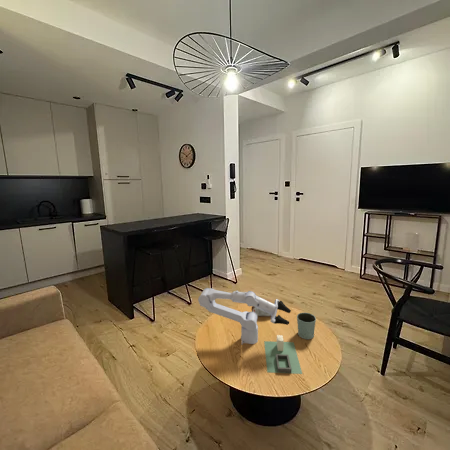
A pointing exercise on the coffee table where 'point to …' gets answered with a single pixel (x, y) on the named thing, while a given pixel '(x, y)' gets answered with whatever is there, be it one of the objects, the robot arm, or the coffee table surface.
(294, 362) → the board
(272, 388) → the coffee table surface
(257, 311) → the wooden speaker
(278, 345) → the cream rectangular block
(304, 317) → the grey-green cup
